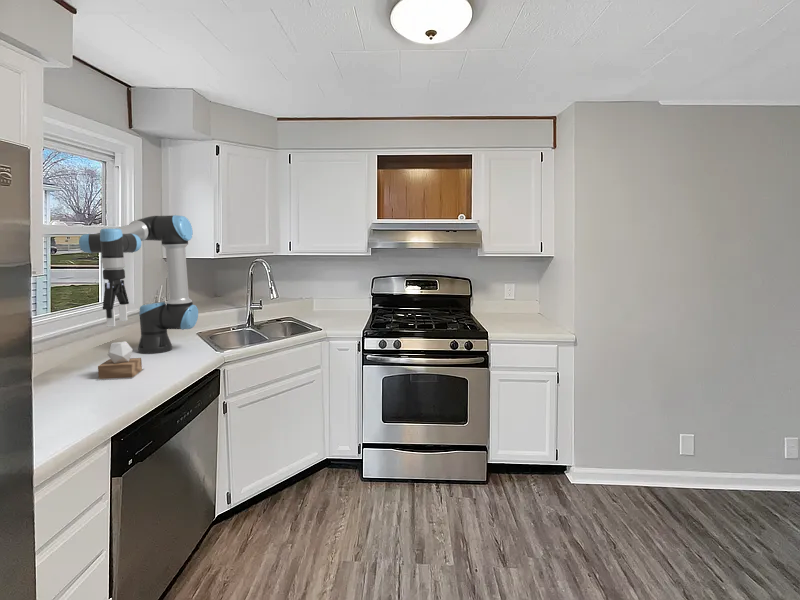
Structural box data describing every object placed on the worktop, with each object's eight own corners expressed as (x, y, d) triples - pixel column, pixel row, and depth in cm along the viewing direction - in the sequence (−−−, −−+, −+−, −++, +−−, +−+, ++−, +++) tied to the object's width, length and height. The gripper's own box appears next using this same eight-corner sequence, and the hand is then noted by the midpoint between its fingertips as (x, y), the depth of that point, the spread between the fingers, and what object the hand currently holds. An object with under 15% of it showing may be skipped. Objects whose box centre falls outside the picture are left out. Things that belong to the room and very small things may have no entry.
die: (131, 360, 220) (115, 341, 219) (141, 351, 216) (124, 333, 214) (116, 371, 214) (98, 352, 212) (125, 363, 209) (107, 344, 207)
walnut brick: (110, 371, 220) (109, 359, 219) (142, 370, 222) (141, 357, 221) (98, 378, 208) (97, 366, 208) (132, 377, 210) (131, 364, 209)
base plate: (111, 373, 222) (110, 370, 222) (144, 371, 224) (144, 368, 224) (95, 383, 206) (95, 380, 206) (132, 381, 208) (131, 378, 208)
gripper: (114, 267, 222) (118, 318, 224) (90, 271, 197) (94, 329, 200) (134, 266, 223) (138, 318, 225) (112, 270, 198) (116, 328, 201)
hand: (117, 323), depth 213 cm, fingers open, 13 cm apart
